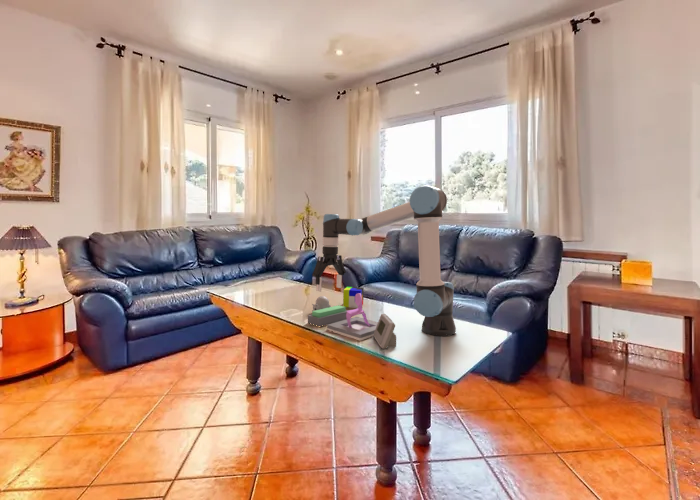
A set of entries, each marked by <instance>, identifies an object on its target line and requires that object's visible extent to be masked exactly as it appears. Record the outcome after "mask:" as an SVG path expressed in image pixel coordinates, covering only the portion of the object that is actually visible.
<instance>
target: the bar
mask: <svg viewBox="0 0 700 500" xmlns="http://www.w3.org/2000/svg"><path fill="white" fill-rule="evenodd" d="M346 308H347V307H344V306H343V305H334V306H331V307H329V308H324V309H320V310H315V311H312V310H311V314H312V316H315V317H318V318H320V317H324V316H328V315H332V314H336V313H340V312H344V311H346V310H347V309H346Z"/></svg>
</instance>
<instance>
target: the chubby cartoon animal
mask: <svg viewBox="0 0 700 500" xmlns="http://www.w3.org/2000/svg"><path fill="white" fill-rule="evenodd" d="M311 305H312V310H311V312H312V311H315V310H320V309H324V308H329V307H332V306H331V304H330V300H329V298H328V297H327V296H325V295H321V296H318V297H317V298H316V300H315V304H314V303H311Z"/></svg>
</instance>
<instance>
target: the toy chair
mask: <svg viewBox="0 0 700 500" xmlns="http://www.w3.org/2000/svg"><path fill="white" fill-rule="evenodd" d="M355 303H356V304H357V305H358V308H353V309H349V310H348V311H347V313H346V318H347V323H348V326H349V327H350V328H352V326H351V323H350V320H351V318H353V317H354V316H355V317H356V316H357V315H361V316H362V318H363V319H364V322H365V323H366V324H367V325H368V326H370V325H369V323H368V321H367V320H368V317H367V314H366V312H365V310H363V305H362V296H361V293H357V294H356V295H355Z"/></svg>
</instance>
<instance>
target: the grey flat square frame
mask: <svg viewBox="0 0 700 500" xmlns="http://www.w3.org/2000/svg"><path fill="white" fill-rule="evenodd" d="M367 321H368V323H369V325H370V326H368V325H367V324H366V323H365V322H364V318H363V317H359V316H355V317H354V316H353V317H351V320H350V323H351V326H352V328H350V327H349V326H348V323H347V319H346V320H343V321H339V322H335V323H332V324H328V325H326V331H328V330H330V331H329V332H331V331H333V332H332V333H335V334H338V335H341V336H344V337H347V338H350V339H354V340H357V341H360V342H361V341H363V340H366V339H369V338H372V337H374V336H373V334H374V331H375V329H376V326H377V324H378V322H377V321H374V320H370V319H367Z"/></svg>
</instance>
